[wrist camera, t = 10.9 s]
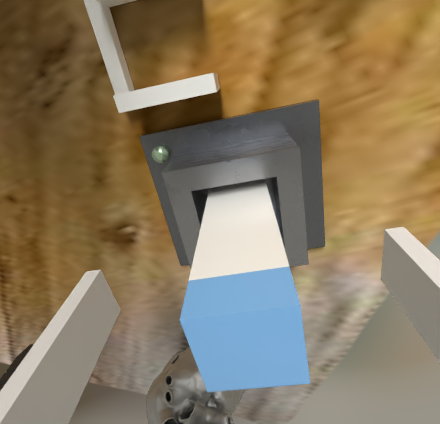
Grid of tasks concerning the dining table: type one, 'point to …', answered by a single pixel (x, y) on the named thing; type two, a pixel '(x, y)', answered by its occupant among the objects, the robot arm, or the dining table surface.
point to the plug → (243, 296)
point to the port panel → (243, 172)
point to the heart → (188, 396)
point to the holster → (119, 74)
